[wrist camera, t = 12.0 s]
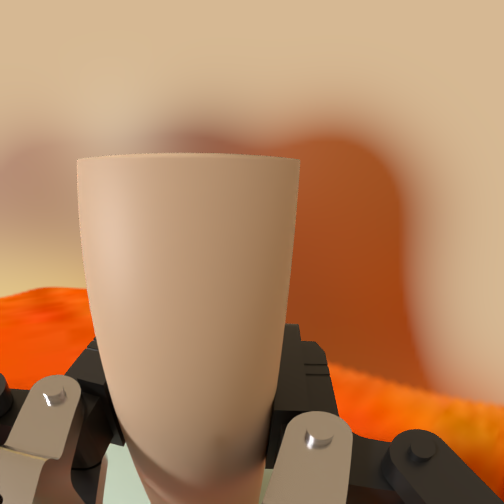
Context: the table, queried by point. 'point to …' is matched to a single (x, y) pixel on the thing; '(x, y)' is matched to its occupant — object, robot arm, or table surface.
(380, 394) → the table surface
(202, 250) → the lid
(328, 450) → the robot arm
